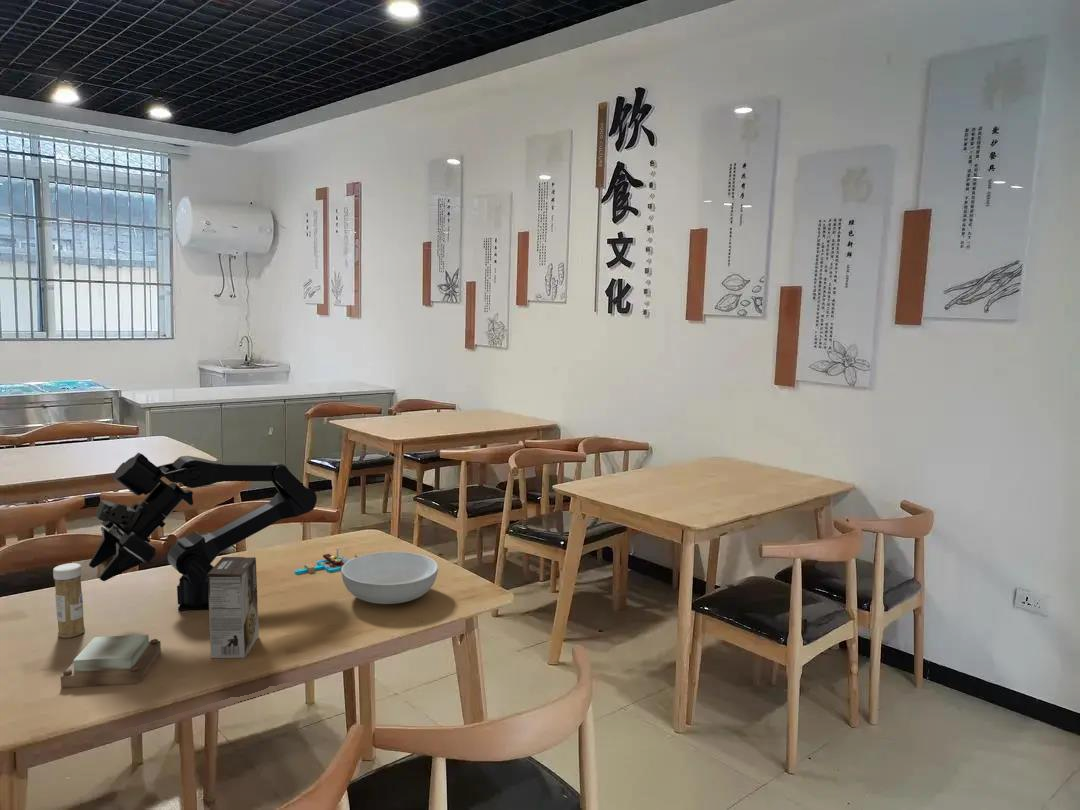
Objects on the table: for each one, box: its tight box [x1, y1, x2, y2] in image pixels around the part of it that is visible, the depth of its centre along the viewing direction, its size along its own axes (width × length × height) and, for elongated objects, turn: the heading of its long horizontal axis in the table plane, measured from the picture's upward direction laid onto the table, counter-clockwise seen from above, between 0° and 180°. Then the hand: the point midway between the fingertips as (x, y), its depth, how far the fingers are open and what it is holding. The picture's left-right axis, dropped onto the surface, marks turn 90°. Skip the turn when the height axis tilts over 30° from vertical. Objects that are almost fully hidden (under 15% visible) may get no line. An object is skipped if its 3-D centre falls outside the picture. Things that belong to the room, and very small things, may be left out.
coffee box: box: [207, 556, 260, 659], centre depth 143 cm, size 9×6×16 cm
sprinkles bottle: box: [52, 562, 86, 639], centre depth 147 cm, size 5×5×13 cm
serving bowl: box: [340, 551, 439, 605], centre depth 170 cm, size 21×21×7 cm
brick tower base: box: [59, 634, 162, 689], centre depth 135 cm, size 12×12×4 cm
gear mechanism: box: [294, 547, 363, 575], centre depth 189 cm, size 20×5×9 cm
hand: (95, 573), depth 150 cm, fingers open, 9 cm apart
